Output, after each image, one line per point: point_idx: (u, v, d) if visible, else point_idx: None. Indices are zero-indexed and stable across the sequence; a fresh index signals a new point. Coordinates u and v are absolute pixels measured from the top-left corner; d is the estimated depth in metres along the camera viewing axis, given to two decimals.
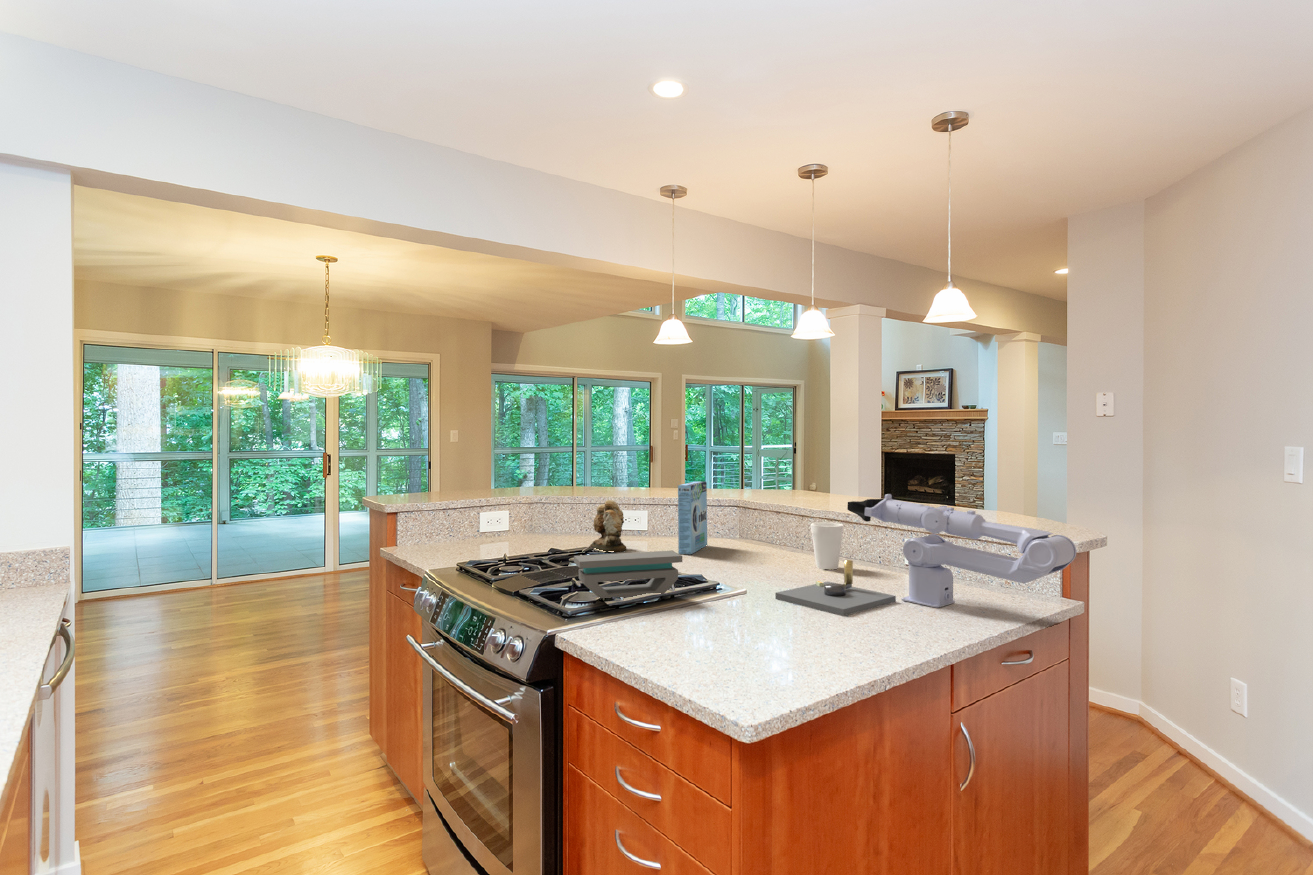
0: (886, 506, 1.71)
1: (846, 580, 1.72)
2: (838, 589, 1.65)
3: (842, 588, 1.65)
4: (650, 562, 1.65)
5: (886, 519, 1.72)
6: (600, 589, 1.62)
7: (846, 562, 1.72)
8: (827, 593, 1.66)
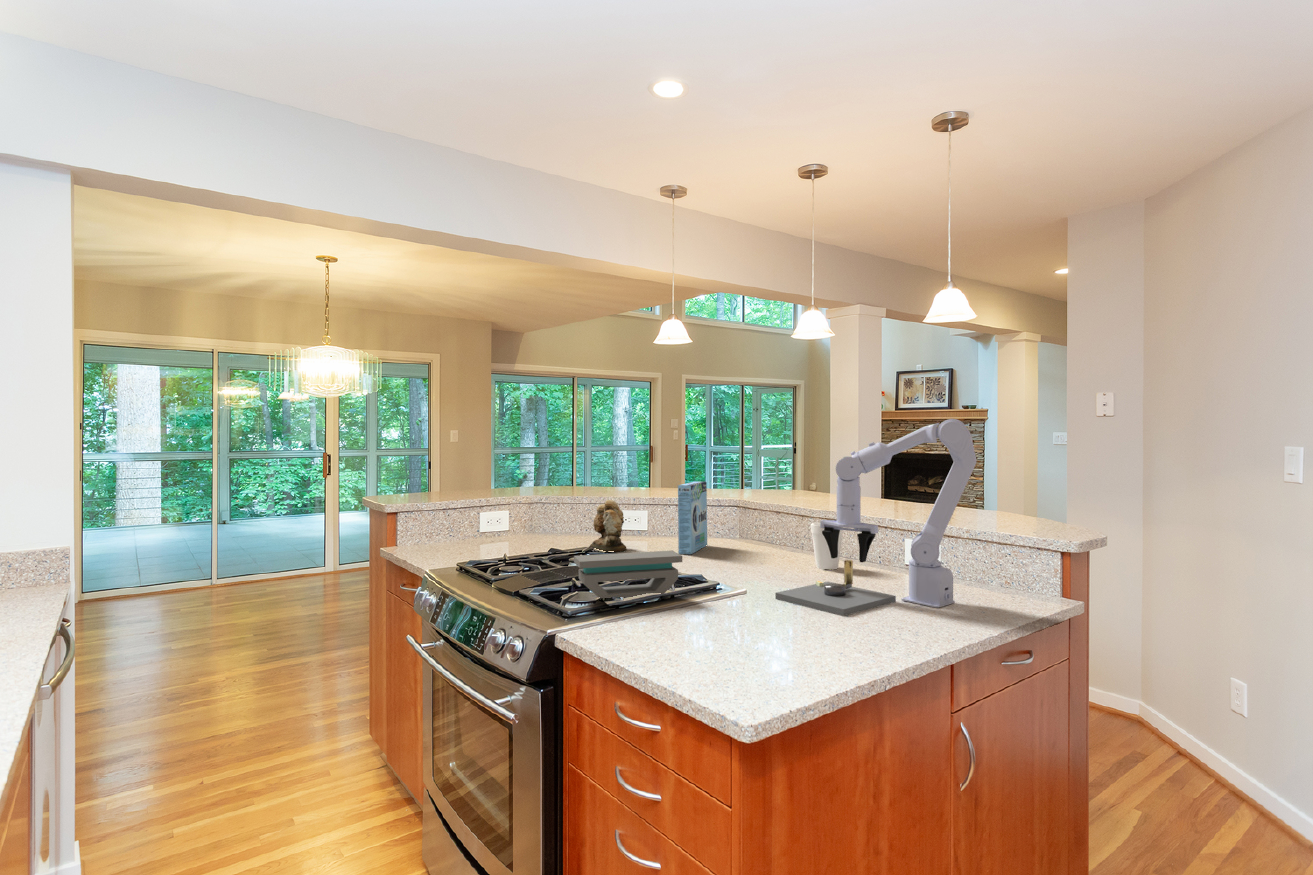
0: (855, 520, 1.70)
1: (846, 580, 1.72)
2: (838, 589, 1.65)
3: (842, 588, 1.65)
4: (650, 562, 1.65)
5: None
6: (600, 589, 1.62)
7: (846, 562, 1.72)
8: (827, 593, 1.66)
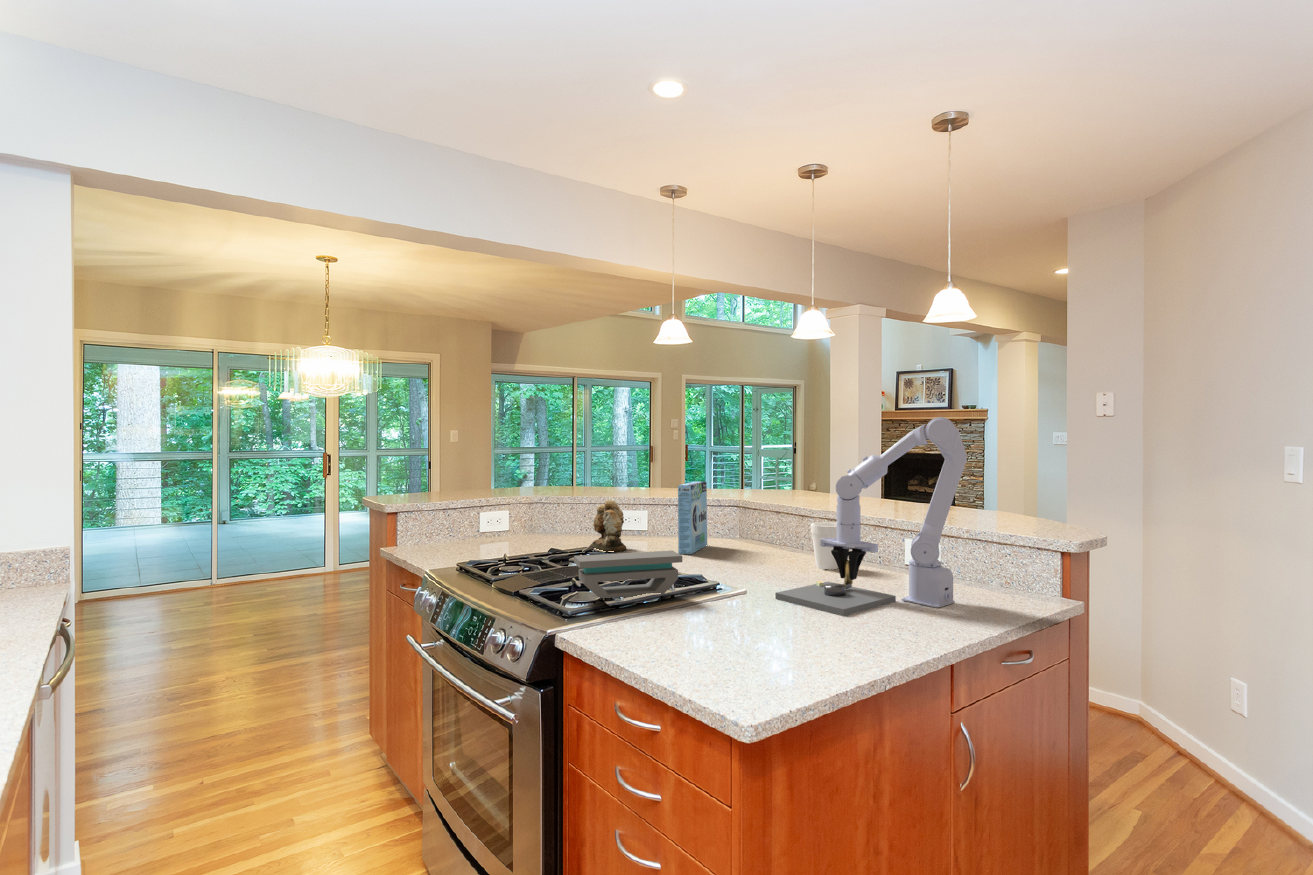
0: (855, 538, 1.70)
1: (846, 580, 1.72)
2: (838, 589, 1.65)
3: (842, 588, 1.65)
4: (650, 562, 1.65)
5: None
6: (600, 589, 1.62)
7: (846, 562, 1.72)
8: (827, 593, 1.66)
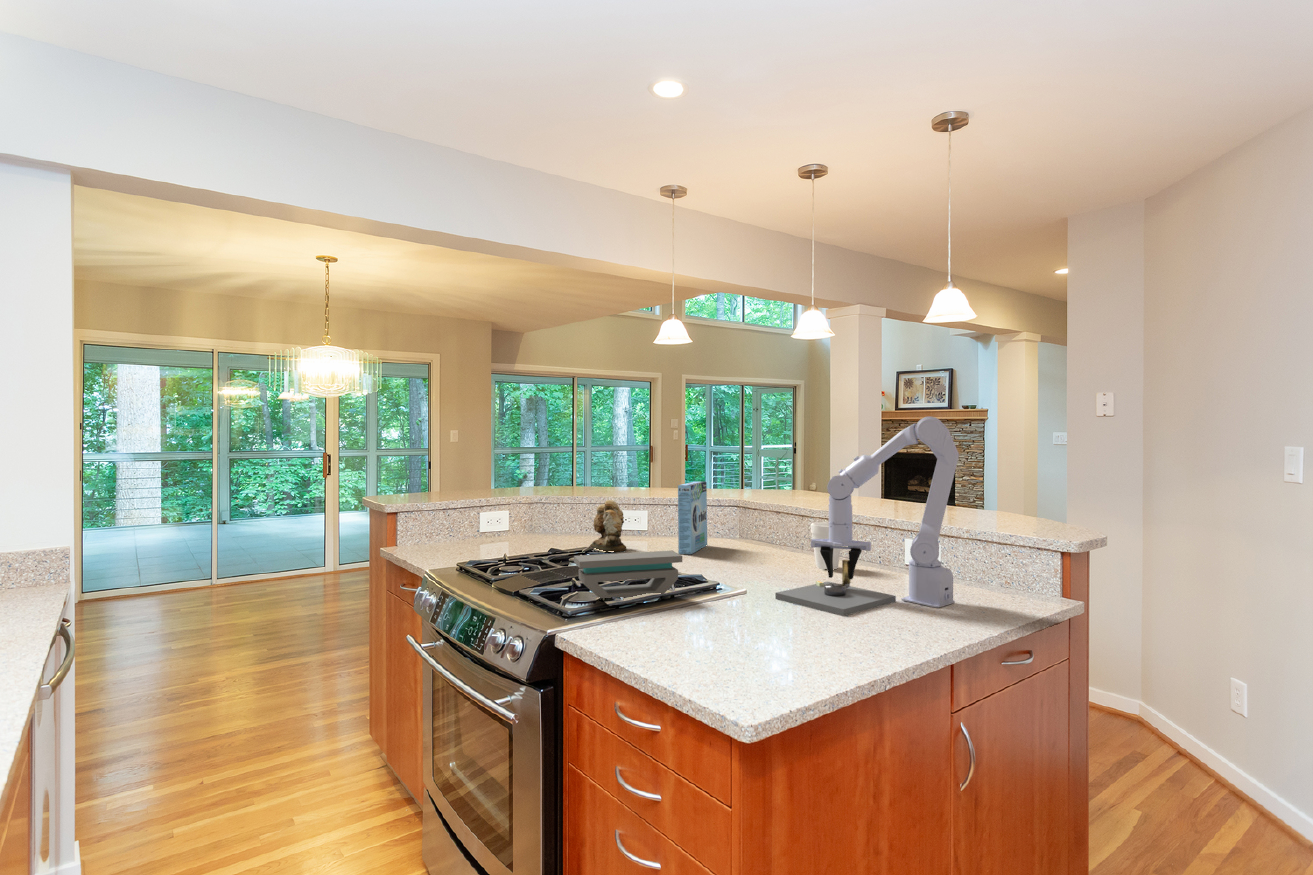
0: (850, 538, 1.71)
1: (844, 580, 1.72)
2: (839, 589, 1.65)
3: (843, 588, 1.65)
4: (650, 562, 1.65)
5: None
6: (600, 589, 1.62)
7: (844, 562, 1.72)
8: (828, 593, 1.66)
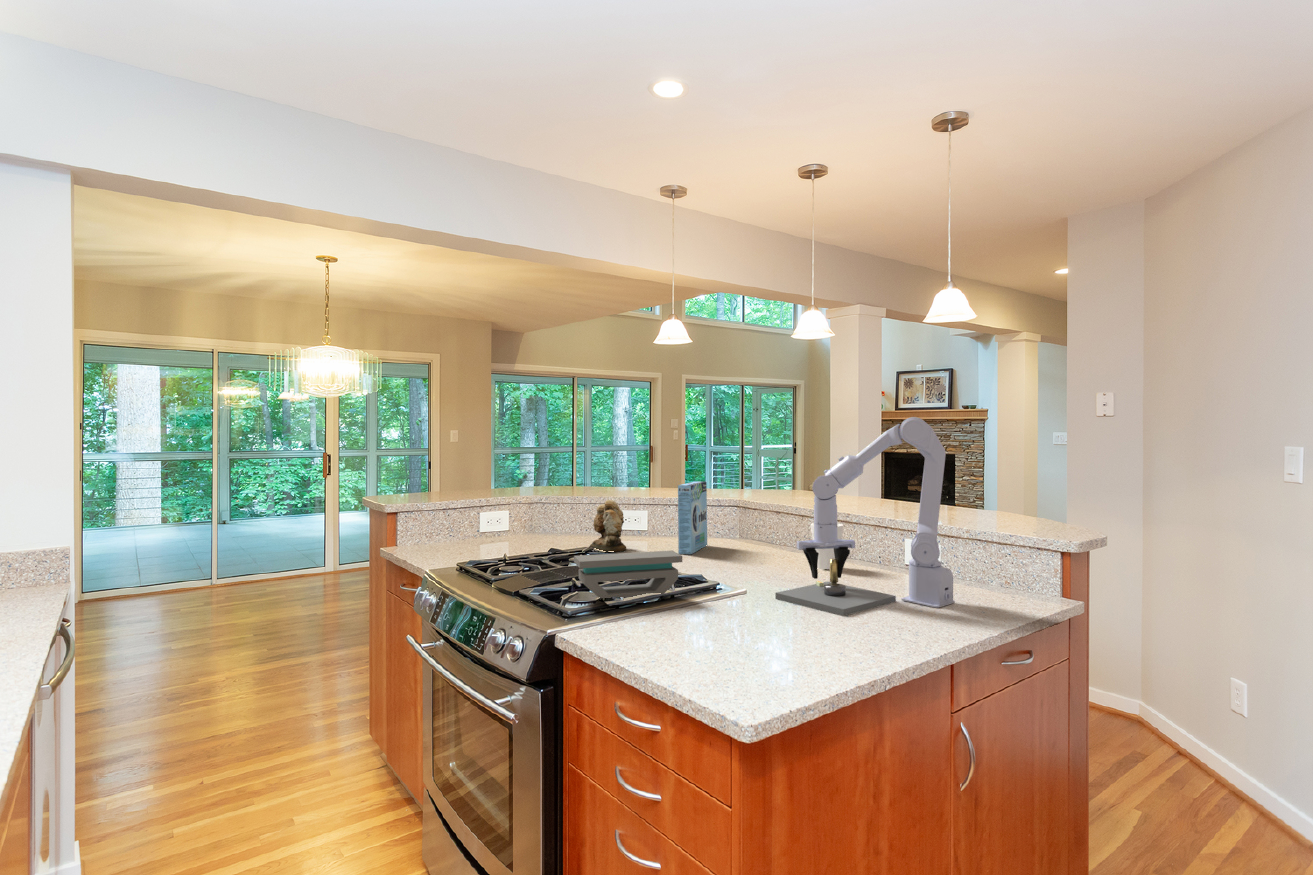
0: (837, 537, 1.73)
1: (834, 579, 1.73)
2: (843, 589, 1.65)
3: (845, 587, 1.66)
4: (650, 562, 1.65)
5: None
6: (600, 589, 1.62)
7: (834, 561, 1.73)
8: (832, 594, 1.65)
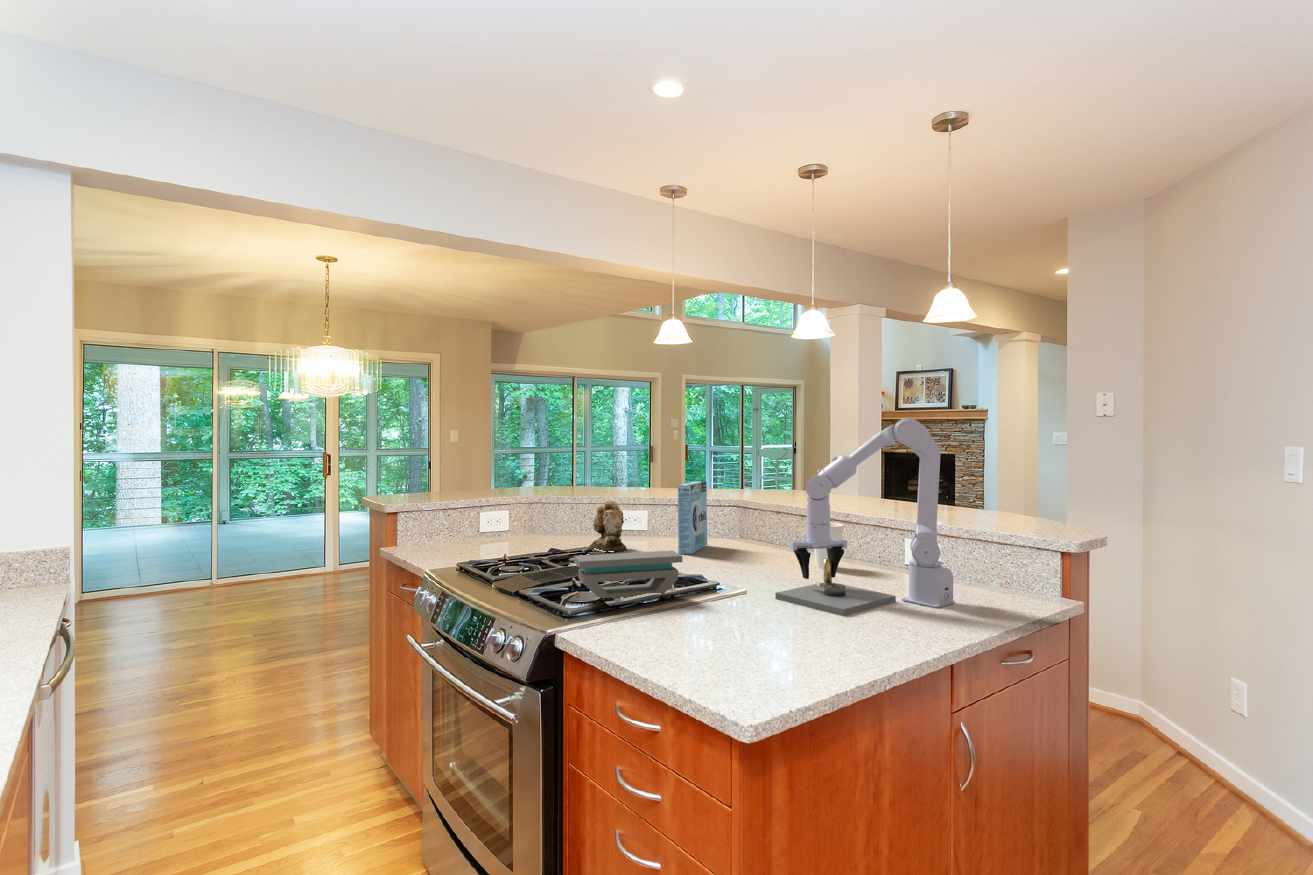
0: None
1: (828, 579, 1.74)
2: (844, 588, 1.66)
3: (845, 587, 1.67)
4: (650, 562, 1.65)
5: None
6: (600, 589, 1.62)
7: (828, 561, 1.73)
8: (834, 594, 1.65)
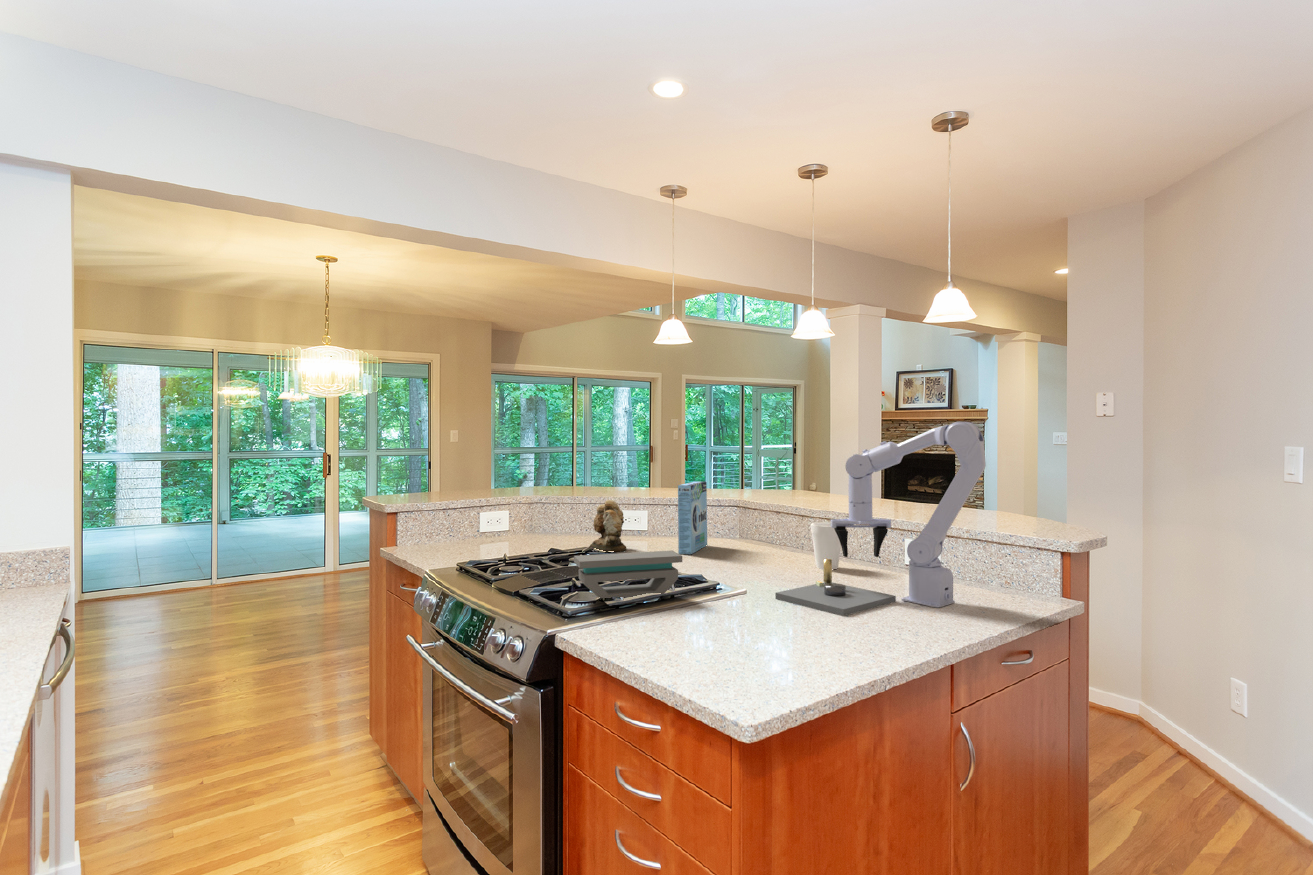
0: None
1: (828, 579, 1.74)
2: (844, 588, 1.66)
3: (845, 587, 1.67)
4: (650, 562, 1.65)
5: None
6: (600, 589, 1.62)
7: (828, 561, 1.73)
8: (834, 594, 1.65)
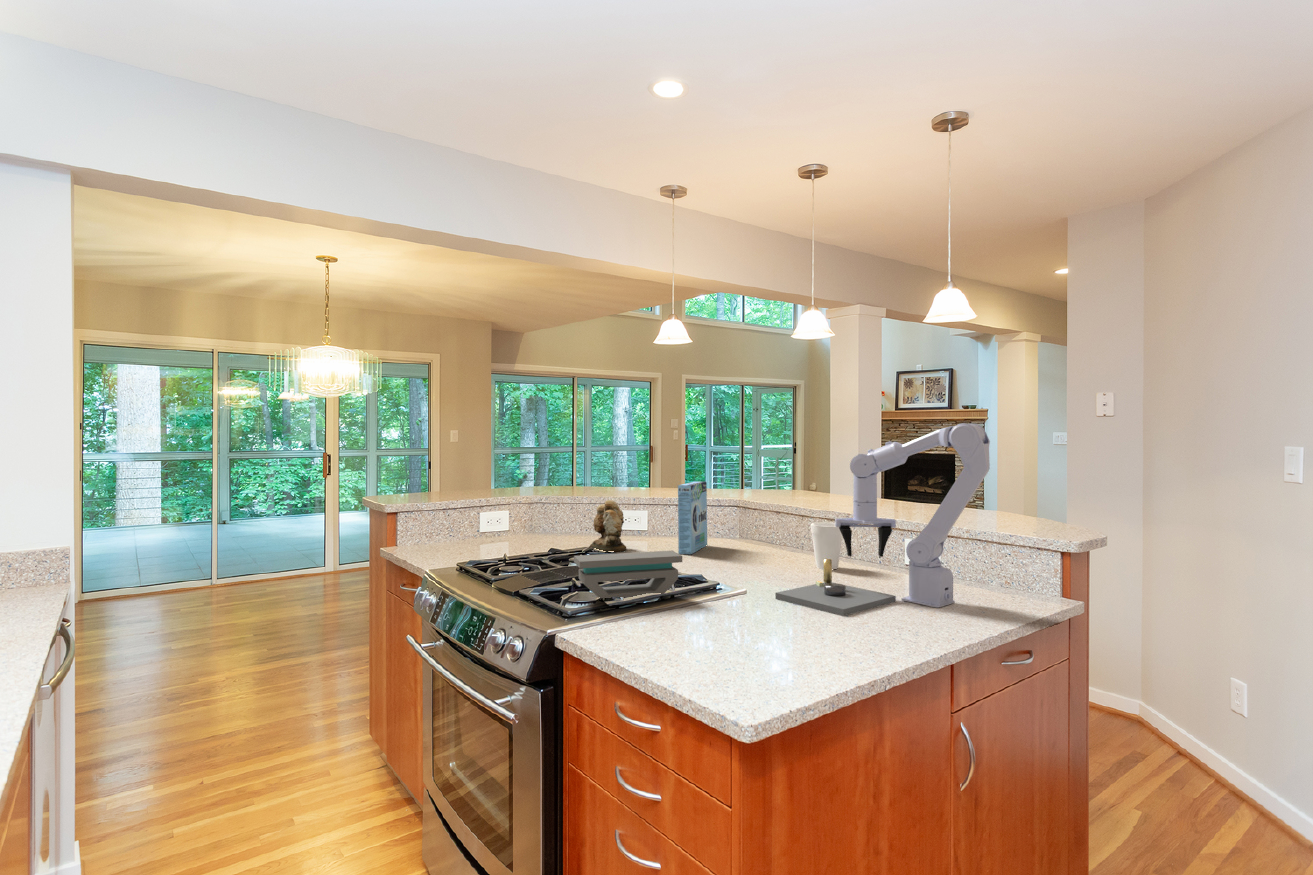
0: (876, 515, 1.73)
1: (828, 579, 1.74)
2: (844, 588, 1.66)
3: (845, 587, 1.67)
4: (650, 562, 1.65)
5: None
6: (600, 589, 1.62)
7: (828, 561, 1.73)
8: (834, 594, 1.65)
